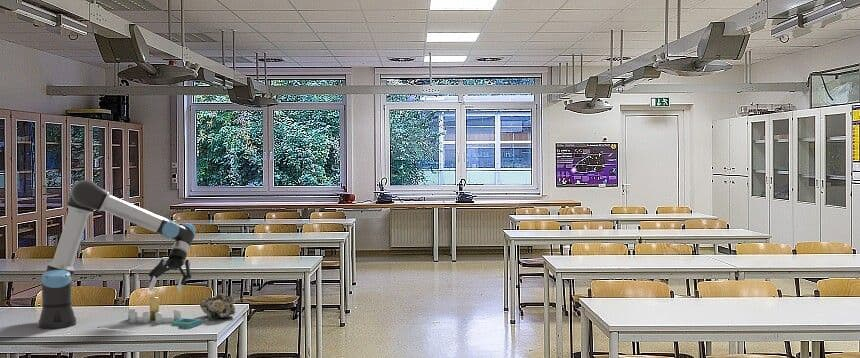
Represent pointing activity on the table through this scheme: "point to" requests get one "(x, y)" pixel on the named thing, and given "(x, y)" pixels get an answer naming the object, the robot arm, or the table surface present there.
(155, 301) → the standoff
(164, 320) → the board
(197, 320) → the tray
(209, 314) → the mineral specimen
